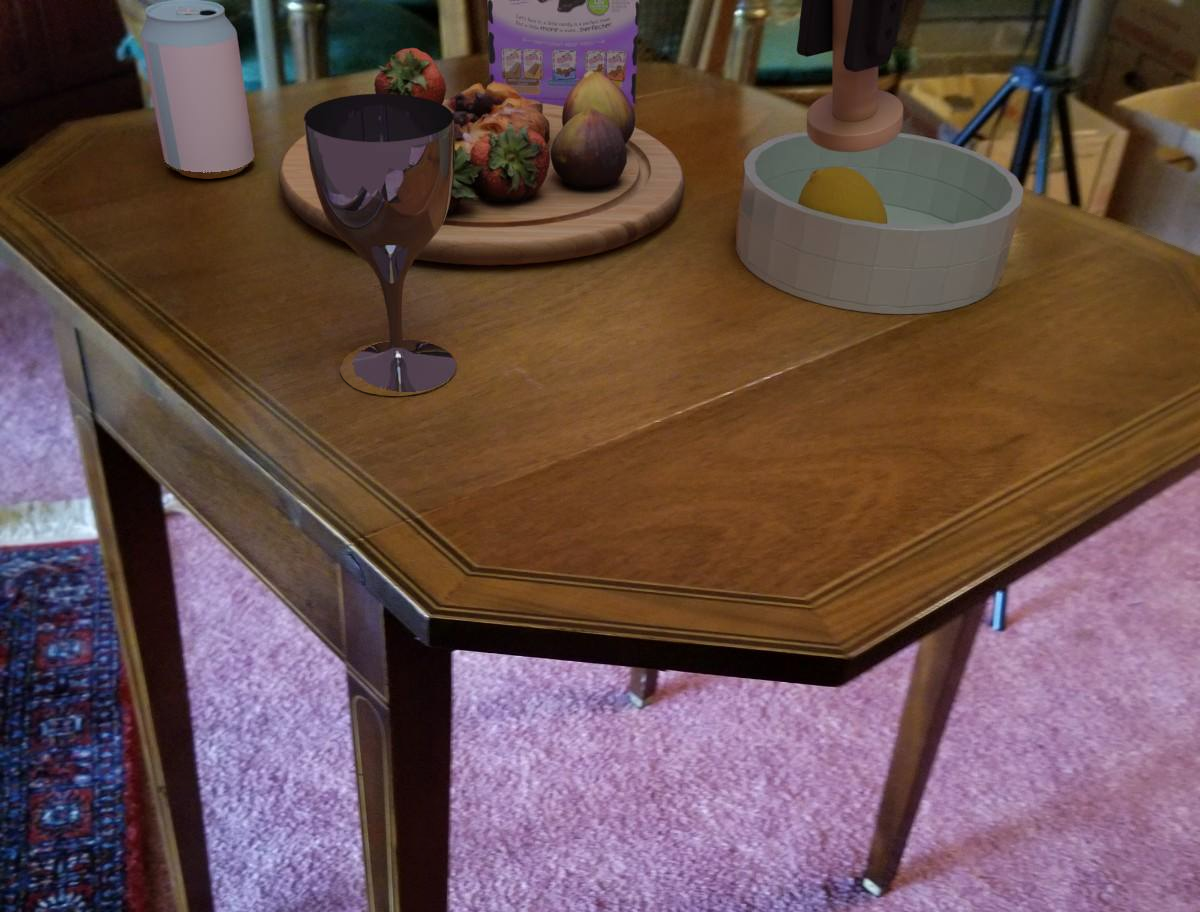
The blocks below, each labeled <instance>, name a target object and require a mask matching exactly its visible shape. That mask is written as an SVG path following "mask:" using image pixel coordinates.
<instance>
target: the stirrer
mask: <svg viewBox="0 0 1200 912" xmlns="http://www.w3.org/2000/svg"><path fill="white" fill-rule="evenodd" d="M852 3H853V0H833V51H832V92H830V93H828V94H826V95H823V96H821V97H819V98H818V99H817V100H815V101H813V103H812V104H811V105H810V106H809V107H808V109H807V112H806V131H807V134H808V136H809V138H810V139H811V141H812V142H814V143H815V144H816V145H818V146H820V147H822V148H825V149H828V150H833V151H839V152H858V151H865V150H870V149H874V148H877V147H880V146H883V145H885V144H887V143H889V142H890V141H892V140H893V139H894V138H896V137H897V136H898V134H899V133H902V132H901V131H902V130H903V125H904V105H903V103H902V101H901V100H900V98H899V97H897V96H896V95H894V94H892V93H890V92H888V91H885V90H882V89H879V66H878V67H874V68H870V69H866V70H862V71H859V72H852V71H849V70H847V69H846V68H845V66H844V64H843V60H844V54H845V47H846V41H847V35H848V28H849V22H850V16H851V9H852Z"/></svg>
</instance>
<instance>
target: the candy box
mask: <svg viewBox="0 0 1200 912" xmlns="http://www.w3.org/2000/svg"><path fill="white" fill-rule="evenodd" d="M486 2H487V4H486V6H487V7H486V8H487V35H488V40H487V41H488V73H489V82H488V83H489V84H490V83H492V82H493V81H495V82H498V83H504V84H507V85H508V86H510V87H512V88H514V89H515V90H516V91H517V93H518V94H519V95H520V97H523V98H526V99H531V100H536V101H538V102H540V103H544V104H551V105H557V106H563V107H564V103H565V101H566V99H567V96H568V94H569V92H570V91H571V90H572V88H573V87H574V86H575V85H576V83H577V82H578V81H579V80H580V78H581V77H582V76H583V75H584V74H585V73H587V72H588V71H590V70H591V71H594V72H595V71H596V72H599V73H601V74H603V75H605V76H606V77H607V78H609V79H610V80H612V81H613V82H614V83H615V84H616V85H617V86H618V87H619V88H620V89H621V90H622V91H623V92H624V94H625V95H626V97H627V98H628V100H629V102H630V103H631V105H632V107H633V109H635V108H636V92H637V91H636V89H637V63H638V61H637V60H638V40H639V37H638V36H639V13H640V0H486ZM489 84H488V85H489Z"/></svg>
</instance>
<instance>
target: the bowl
mask: <svg viewBox="0 0 1200 912" xmlns="http://www.w3.org/2000/svg"><path fill="white" fill-rule="evenodd" d="M829 167H846V168H850V169H852V170H854V171H856V172H858V173H859V174H861V175H862V176H863V177H864V178H866V179H867V180H868V181H869V182H870V183H871V184H872V186H873V187H874V188H875V189H876V191H877V192H878V194H879V196H880V198H881V200H882V202H883V205H884V207H885V210H886V214H887V224H880V223H873V222H867V221H861V220H854V219H848V218H843V217H839V216H835V215H832V214H828V213H824V212H820V211H817V210H813V209H810V208H807V207H805V206H802V205H800V204H798V201H799V197H800V194H801V191H802V189H803V187H804V185H805V184H806V182H807V181H808V180H809V179H810V176H811V173H812V172H813V171H815V170H817V169H820V170H823V169H826V168H829ZM1024 190H1025V189H1024V187H1023V186H1022V184H1021V182H1020V181H1019V178H1018V177H1017V176H1016V175H1015V174H1014V173H1012V172H1011V171H1010V170H1008V169H1007V168H1006V167H1005V166H1003V165H1002V164H1001V163H999V162H998V161H996V160H993V159H991V158H989V157H988V156H985V155H983V154H981V153H979V152H977V151H974V150H971V149H968V148H966V147H963V146H960V145H956V144H954V143H951V142H947V141H944V140H939V139H936V138H935V139H934V138H931V137H927V136H922V135H916V134H910V133H903V132H900V133H899V134H898V136H897V137H896V138H894V139H893V140H892V141H890V142H889V143H887V144H885V145H883V146H880V147H877V148H874V149H870V150H865V151H858V152H839V151H833V150H828V149H825V148H822V147H820V146H818V145H816V144H815V143H814V142H812V141H811V139H810V138H809V136H808V134H807V130H806V131H800V132H799V131H798V132H792V133H787V134H785V135H781V136H778V137H773V138H771V139H768V140H766V141H765V142H763V143H761V144H759V145H758V146H756V147H754V148H752V149H750V151H749V153H748V154H747V156H746V157H745V158H744V160H743V165H742V175H741V183H740V193H739V201H738V210H737V219H736V227H735V228H736V229H735V250H736V253H737V256H738V258H739V260H740V262H741V263H742V264H743V265H744V266H745V268H746V269H747V270H748V271H749V272H751V274H753V275H754V276H755V277H756V278H758V279H760V280H761V281H763V282H765V283H766V284H768V285H770V286H772V287H774V288H775V289H778V290H780V291H782V292H784V293H787V294H789V295H792V296H794V297H797V298H800V299H803V300H806V301H808V302H812V303H816V304H819V305H824V306H827V307H831V308H838V309H842V310H847V311H848V310H849V311H853V312H854V311H855V312H862V313H871V314H882V315H922V314H932V313H940V312H946V311H951V310H955V309H959V308H964V307H966V306H969V305H972V304H974V303H976V302H979V301H981V300H983V299H984V298H986V297H988V296H989V295H990V294H991V293H993V292H994V291H995V290H996V288H997V287H998V286H999V285H1000V283H1001V280H1002V277H1003V275H1004V273H1005V268H1006V266H1007V265H1006V264H1007V261H1008V257H1009V252H1010V249H1011V245H1012V242H1013V237H1014V234H1015V231H1016V226H1017V223H1018V220H1019V216H1020V211H1021V207H1022V204H1023V199H1024V198H1023V197H1024V192H1025V191H1024Z"/></svg>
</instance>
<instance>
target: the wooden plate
mask: <svg viewBox="0 0 1200 912" xmlns="http://www.w3.org/2000/svg"><path fill="white" fill-rule="evenodd" d="M377 67H378V68H380V71H379V73H378V74H377V75H376V76H375V79H374V83H373V86H374V94H400V95H408V96H415V97H420V98H425V99H428V100H432V101H435V102H437V103H440V104H442V105H444V106H445V107H447V108H448V109H449V110H450V111H451V112H452V114H453V118H454V135H455V169H454V178H453V188H452V194H451V199H450V204H449V208H448V212H447V215H446V218H445V220H444V223H443V224H442V226H441V227H440V229H439V231H438V232H437V234H436V235H435V236H434V237H433V238H432V239H431V241H430V242H429V243H428V244H427V245H426V246H425V248H424V249H423V250H422V251H421V252H420V254H419V255H418V256H417V257H416V258H415V260H416V261H424V262H433V263H441V264H453V265H467V266H468V265H470V266H471V265H473V266H499V265H507V266H508V265H510V266H511V265H526V264H538V263H549V262H557V261H564V260H570V259H577V258H582V257H587V256H592V255H596V254H600V253H604V252H607V251H611V250H614V249H617V248H621V247H623V246H625V245H628V244H630V243H632V242H635V241H637V240H639V239H642V238H643V237H645V236H647V235H649V234H651V233H653V231H656V230H657V229H658V228H660V227H662V226H663V225H664V224H665V223H666V222H668V221H669V220H670V219H671V218H672V217H673V215H674V213H675V212H676V211H677V210H678V208H679V206H680V205H681V203H682V201H683V197H684V193H685V189H686V187H685V186H686V179H685V176H684V170H683V168H682V166H681V164H680V162H679V160H678V158H676V155H674V153H673V152H672V151H671V150H670V149H669V148H668V147H667V146H665V144H663V143H662V142H661V141H659V139H656V138H655V137H653V136H652V135H651V134H649V133H647V132H646V131H644V130H642V129H639V128H637V127H635V126H636V115H635V110H634V108H633V107H632V105H631V103H630V102H629V100H628V98H627V97H626V95H625V94H624V92H623V91H622V90H621V89H620V88H619V87H618V86H617V85H616V84H615V83H614V82H613V81H612V80H610V79H609V78H607V77H606V76H605V75H603V74H601V73H599V72H596V71H595V72H594V71H591V70H590V71H588V72H587V73H585V74H584V75H583V76H582V77H581V78H580V80H579V81H578V82H577V83H576V85H575V86H574V87H573V88H572V90H571V91H570V92H569V94H568V96H567V99H566V101H565V103H564V107H563V106H557V105H551V104H544V103H540V102H538V101H536V100H531V99H526V98H523V97H520V95H519V94H518V93H517V91H516V90H515V89H514V88H512V87H510V86H508V85H507V84H504V83H498V82H495V81H493V82H492V83H490V84H487V87H486V88H484V86H483V83H481V82H480V83H479V82H478V83H474V84H472V85H471V86H470V87H469V88H466V89H465V90H463V91H461V92H458V93H457V94H455V95H454V96H453V97H451V98H450V99H445V97H446V93H447V85H446V82H445V78H444V77H443V75H442V73H441V71H440V69H439V67H438V65H437V63H436V62H435V61H434V59H433V58H432V57H431V56H430V55H429V54H428V53H427V52H424V51H421V50H420V49H418V48H417V47H416V48H415V47H410V48H402V49H401V50H399V51H397V52H396V53H395V54H391V55H390V57H389V62H387V63H386V65H385V66H383V65H377ZM278 184H279V188H280V191H281V194H282V195H283V197H284V199H285V201H286V203H287V204H288V206H290V208H291V210H293V211H294V213H295V214H296V215H298V216H299V217H300V218H301V219H302V220H303V221H304V222H305V223H307V224H308V225H310V226H311V227H313V228H315V229H316V230H318V231H320V232H322V233H324V234H326V235H328V236H330V237H332V238H335V239H336V240H339V241H342V242H345V241H344V240H343V239H342V238H341V237H340V236H339V235H338V234H337V233H336V231H335V230H334V229H333V228H332V226H331V225H330V224H329V222H328V220H327V218H326V216H325V214H324V212H323V209H322V206H321V203H320V200H319V198H318V195H317V191H316V188H315V184H314V180H313V176H312V173H311V169H310V163H309V157H308V151H307V145H306V137H305V135H303V136H302V137H300V138H299V139H298V140H296V142H295V143H293V145H292V146H291V147H290V148H289V149H288V151H287V152H286V153H285V155H284V156H283V157H282V160H281V163H280V165H279V171H278ZM345 243H346V242H345Z"/></svg>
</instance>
